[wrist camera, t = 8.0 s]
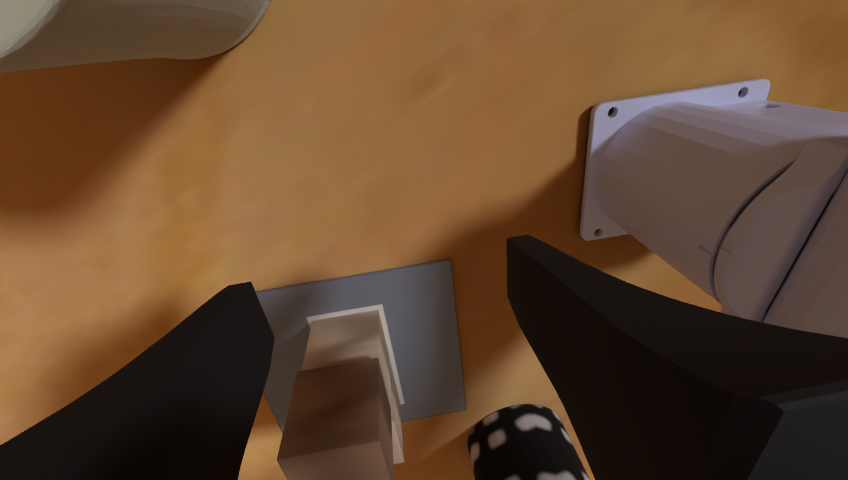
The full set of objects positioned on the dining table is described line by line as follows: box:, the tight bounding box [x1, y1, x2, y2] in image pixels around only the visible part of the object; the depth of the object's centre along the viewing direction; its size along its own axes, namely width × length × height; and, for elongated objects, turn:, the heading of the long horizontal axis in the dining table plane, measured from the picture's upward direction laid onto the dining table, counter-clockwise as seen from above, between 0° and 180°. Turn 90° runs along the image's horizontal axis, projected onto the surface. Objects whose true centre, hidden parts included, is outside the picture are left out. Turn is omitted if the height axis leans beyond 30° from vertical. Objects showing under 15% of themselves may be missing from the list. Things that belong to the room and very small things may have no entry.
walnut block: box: [277, 358, 394, 480], centre depth 18 cm, size 4×4×5 cm
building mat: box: [256, 259, 466, 432], centre depth 26 cm, size 14×14×1 cm
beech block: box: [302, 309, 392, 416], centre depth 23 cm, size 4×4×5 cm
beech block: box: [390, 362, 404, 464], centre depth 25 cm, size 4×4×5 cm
